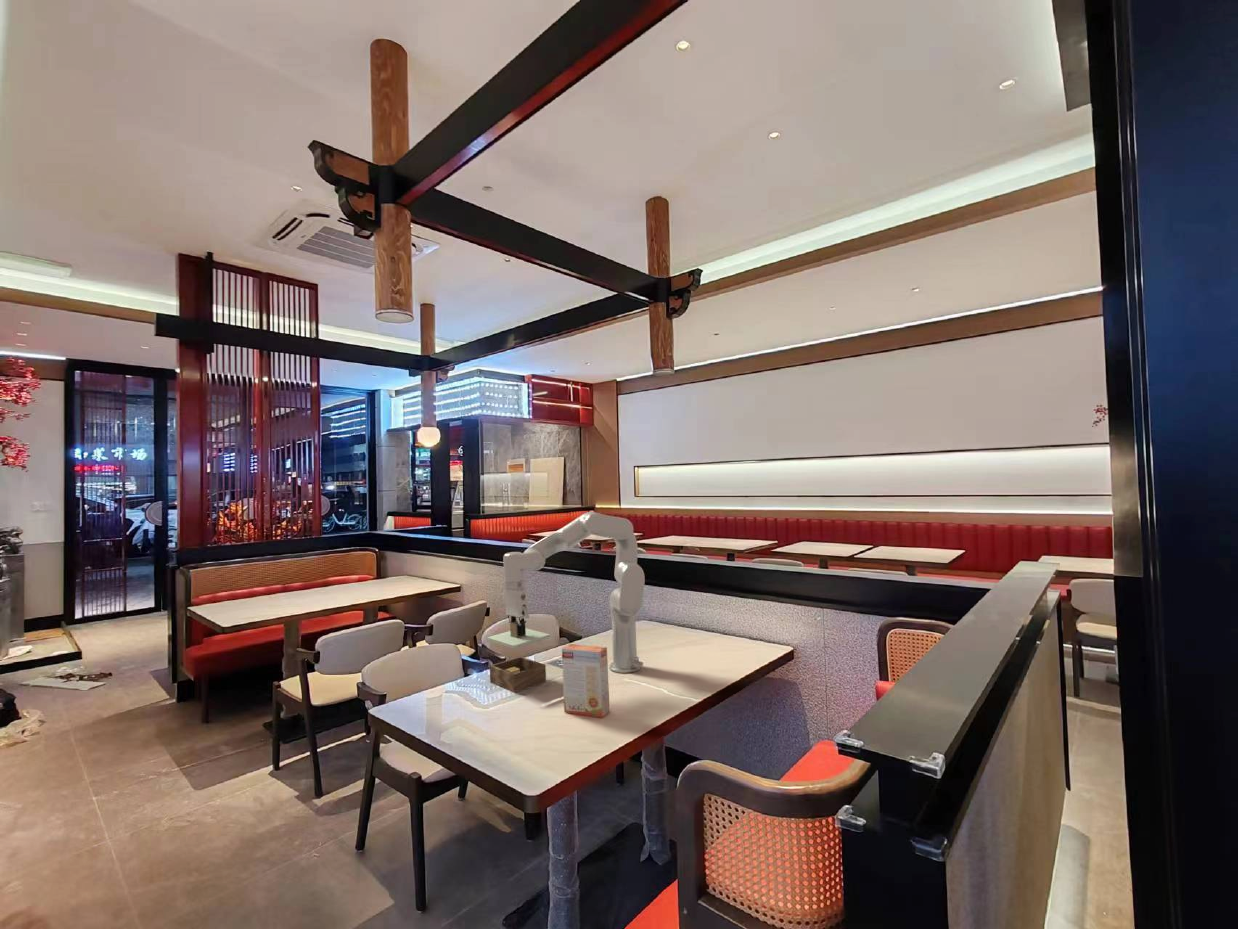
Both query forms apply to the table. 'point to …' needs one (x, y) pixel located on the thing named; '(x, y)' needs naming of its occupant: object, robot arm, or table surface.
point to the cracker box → (585, 680)
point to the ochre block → (513, 670)
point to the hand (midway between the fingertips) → (518, 633)
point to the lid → (517, 637)
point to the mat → (556, 663)
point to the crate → (518, 674)
